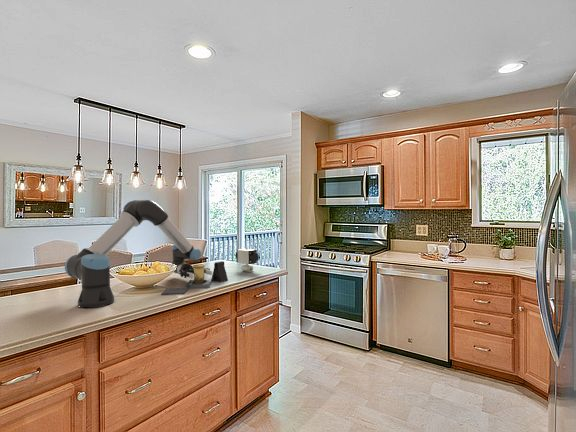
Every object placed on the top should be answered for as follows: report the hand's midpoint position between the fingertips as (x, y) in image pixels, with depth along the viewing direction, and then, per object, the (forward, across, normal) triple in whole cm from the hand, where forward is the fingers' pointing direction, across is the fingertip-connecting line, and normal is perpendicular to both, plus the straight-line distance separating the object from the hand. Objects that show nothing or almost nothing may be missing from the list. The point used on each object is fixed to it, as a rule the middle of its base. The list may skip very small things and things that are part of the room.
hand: (202, 274), depth 187 cm
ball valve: (-17, -46, -7) cm, 50 cm away
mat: (+1, +17, -7) cm, 18 cm away
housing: (-4, 0, -7) cm, 8 cm away
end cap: (-4, 0, -7) cm, 8 cm away
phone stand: (-6, -15, -7) cm, 18 cm away
